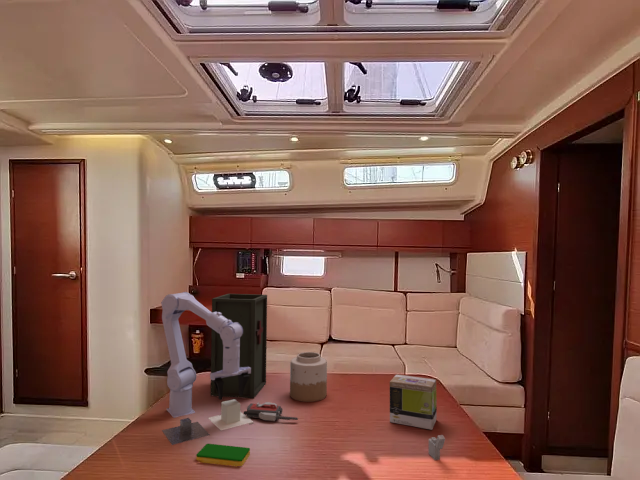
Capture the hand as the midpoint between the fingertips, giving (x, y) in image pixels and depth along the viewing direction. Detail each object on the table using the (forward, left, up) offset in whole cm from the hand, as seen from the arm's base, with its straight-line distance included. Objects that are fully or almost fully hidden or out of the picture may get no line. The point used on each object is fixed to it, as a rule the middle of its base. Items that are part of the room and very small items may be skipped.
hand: (230, 396), depth 144 cm
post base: (+1, -16, -9) cm, 18 cm away
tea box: (+36, +54, -9) cm, 65 cm away
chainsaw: (+5, +14, -9) cm, 17 cm away
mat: (0, 0, -9) cm, 9 cm away
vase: (-6, +37, -9) cm, 39 cm away
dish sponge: (+22, -11, -9) cm, 27 cm away
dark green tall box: (-28, +16, -9) cm, 33 cm away
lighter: (+58, +40, -9) cm, 71 cm away
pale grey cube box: (0, 0, -8) cm, 8 cm away
